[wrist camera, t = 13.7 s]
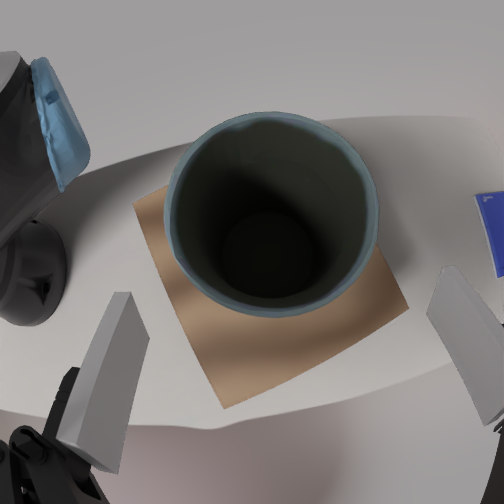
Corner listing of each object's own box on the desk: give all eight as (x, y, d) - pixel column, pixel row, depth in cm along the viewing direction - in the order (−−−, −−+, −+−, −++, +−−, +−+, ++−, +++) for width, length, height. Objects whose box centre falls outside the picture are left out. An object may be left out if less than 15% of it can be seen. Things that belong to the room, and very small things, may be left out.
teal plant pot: (283, 179, 26) (295, 85, 14) (351, 272, 24) (420, 231, 12) (185, 240, 25) (129, 177, 13) (250, 342, 23) (240, 364, 11)
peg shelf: (158, 228, 34) (132, 203, 26) (294, 164, 35) (301, 126, 27) (232, 388, 30) (224, 409, 22) (376, 311, 31) (409, 308, 23)
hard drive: (476, 194, 33) (499, 277, 30) (506, 190, 33) (527, 266, 30) (471, 198, 34) (492, 279, 32) (500, 194, 35) (521, 267, 32)
